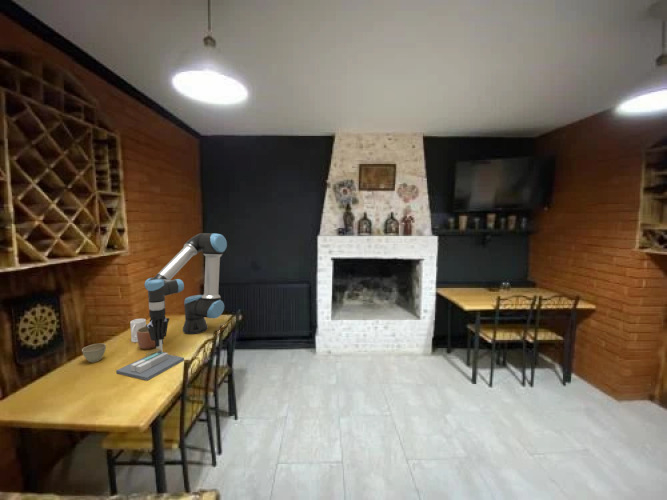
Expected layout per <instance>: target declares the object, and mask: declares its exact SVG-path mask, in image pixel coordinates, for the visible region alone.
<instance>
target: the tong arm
mask: <svg viewBox="0 0 667 500" xmlns="http://www.w3.org/2000/svg"><path fill="white" fill-rule="evenodd" d="M163 352H164V351H162V352H161V353H155V354H153V355H151V356H149V357H147V358H144V357H143V358H144V359H142V358H141V359H142V360H140V359H139V360H140V361H138V362H136V363H134V364H132V365H131V371H134V372H135V371H137V370H136V366H138V365H140V364H142V363H144V362H146V361H148V360H150V359H152V358H154V357H156V356H158V355H160V354H162V353H163Z"/></svg>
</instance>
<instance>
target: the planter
mask: <svg viewBox="0 0 667 500" xmlns="http://www.w3.org/2000/svg"><path fill="white" fill-rule="evenodd" d="M152 326H153V325H152ZM153 329H154V328H153ZM137 339H138V342H137V345H138V346H139V348H141V349H143V350H151V349H152V350H153V349H156V346H155V341H153V340H151V337H150V334H149V331H148V328H147V327H146V326H144V327H141V328H139V329H138V330H137Z"/></svg>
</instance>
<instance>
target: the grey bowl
mask: <svg viewBox="0 0 667 500" xmlns="http://www.w3.org/2000/svg"><path fill="white" fill-rule="evenodd" d="M105 351H106V344H105V343H94V344H90V345H87V346H84V347H83V348H82V349H81V352H82V355H83V357H84V358H85V360H86V361H88V362H89V363H96V362H99V361H101V360H102V358H103V357H104V354H105Z"/></svg>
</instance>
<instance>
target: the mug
mask: <svg viewBox="0 0 667 500" xmlns="http://www.w3.org/2000/svg"><path fill="white" fill-rule="evenodd" d="M146 325H147V321H146V318H135V319H133V320H131V321H130V335H131V336H130V337H131V341H130V342H131V343H138V339H137V330H138V329H139V328H141V327H144V326H146Z"/></svg>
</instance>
